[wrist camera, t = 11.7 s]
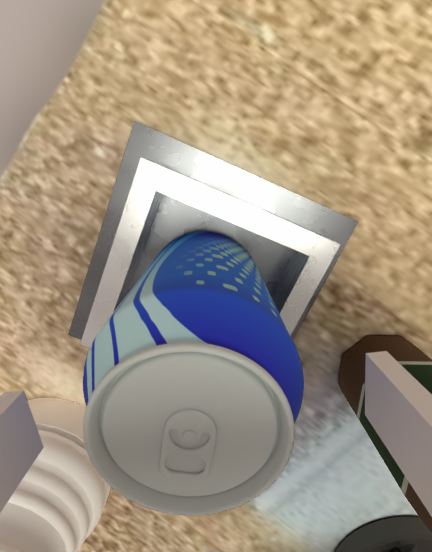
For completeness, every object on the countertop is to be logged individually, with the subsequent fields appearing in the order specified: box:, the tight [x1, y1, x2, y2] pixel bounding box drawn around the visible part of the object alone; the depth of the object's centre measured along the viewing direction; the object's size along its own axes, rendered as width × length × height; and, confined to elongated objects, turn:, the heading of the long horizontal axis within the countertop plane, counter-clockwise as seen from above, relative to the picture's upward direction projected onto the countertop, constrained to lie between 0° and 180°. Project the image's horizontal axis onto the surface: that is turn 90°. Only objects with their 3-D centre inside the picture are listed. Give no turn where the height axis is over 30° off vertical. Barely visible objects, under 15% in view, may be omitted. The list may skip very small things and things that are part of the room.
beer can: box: [83, 231, 304, 515], centre depth 17 cm, size 8×8×16 cm
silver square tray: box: [68, 121, 358, 348], centre depth 24 cm, size 18×18×4 cm
